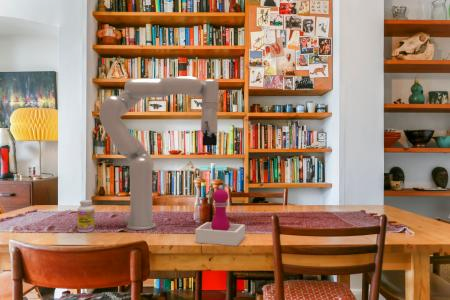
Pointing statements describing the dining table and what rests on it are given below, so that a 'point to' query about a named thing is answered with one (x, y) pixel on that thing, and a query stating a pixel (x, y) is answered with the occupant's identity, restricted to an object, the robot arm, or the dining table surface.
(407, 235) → the dining table surface
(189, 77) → the robot arm
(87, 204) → the supplement bottle
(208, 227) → the tote
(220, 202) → the pepper mill
